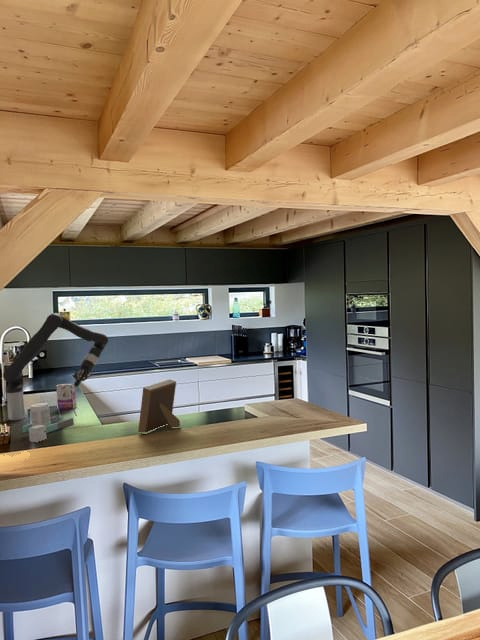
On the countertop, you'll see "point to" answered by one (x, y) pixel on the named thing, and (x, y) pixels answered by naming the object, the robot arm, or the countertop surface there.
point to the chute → (52, 426)
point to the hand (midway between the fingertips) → (75, 386)
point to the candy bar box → (66, 396)
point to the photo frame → (158, 406)
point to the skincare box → (37, 433)
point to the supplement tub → (40, 414)
